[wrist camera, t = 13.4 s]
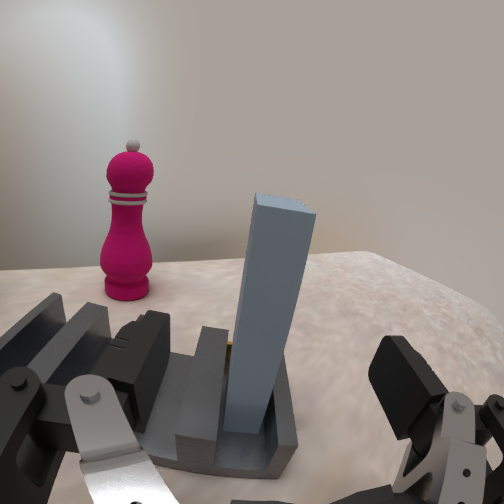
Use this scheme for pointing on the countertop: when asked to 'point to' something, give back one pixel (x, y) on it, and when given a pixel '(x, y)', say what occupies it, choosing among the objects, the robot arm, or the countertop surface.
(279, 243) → the panel
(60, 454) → the robot arm
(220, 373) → the rack
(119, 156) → the pepper mill
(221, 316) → the countertop surface
